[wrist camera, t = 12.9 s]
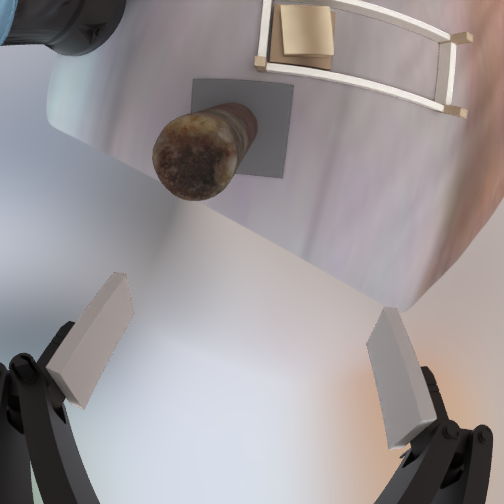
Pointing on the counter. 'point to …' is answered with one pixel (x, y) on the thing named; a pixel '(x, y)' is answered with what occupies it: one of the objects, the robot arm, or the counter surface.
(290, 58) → the offcut lower
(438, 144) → the counter surface
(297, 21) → the offcut upper
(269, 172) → the mat
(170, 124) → the rusty brown cylinder
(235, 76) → the counter surface
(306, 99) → the counter surface
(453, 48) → the rack
